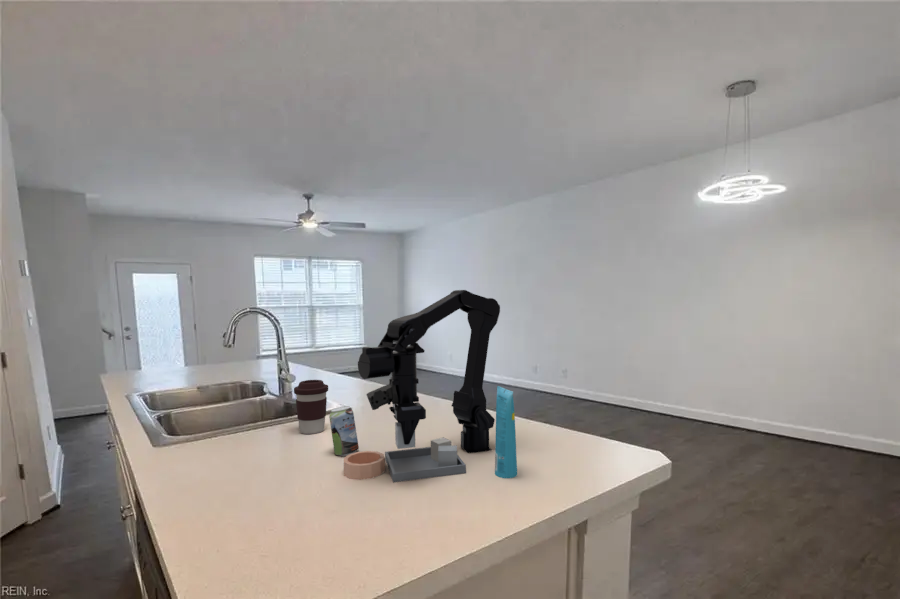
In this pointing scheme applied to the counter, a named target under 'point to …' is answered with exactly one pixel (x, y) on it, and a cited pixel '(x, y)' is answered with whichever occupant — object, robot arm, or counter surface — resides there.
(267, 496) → the counter surface
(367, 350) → the robot arm
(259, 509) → the counter surface
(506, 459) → the tube
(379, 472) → the bowl
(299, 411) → the coffee cup
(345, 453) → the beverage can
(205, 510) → the counter surface
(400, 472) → the tray
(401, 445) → the stone
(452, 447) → the stone
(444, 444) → the stone
